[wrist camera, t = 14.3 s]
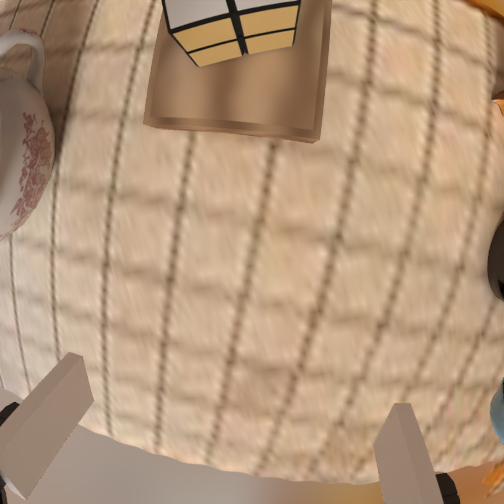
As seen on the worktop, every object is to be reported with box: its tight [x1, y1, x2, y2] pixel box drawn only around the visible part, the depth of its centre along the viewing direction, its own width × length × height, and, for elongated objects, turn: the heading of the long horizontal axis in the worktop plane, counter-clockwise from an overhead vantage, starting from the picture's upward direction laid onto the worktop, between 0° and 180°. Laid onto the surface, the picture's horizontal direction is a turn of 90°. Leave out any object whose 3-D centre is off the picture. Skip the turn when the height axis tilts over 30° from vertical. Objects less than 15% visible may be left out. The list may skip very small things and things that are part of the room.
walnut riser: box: [143, 0, 332, 143], centre depth 30 cm, size 18×18×6 cm
